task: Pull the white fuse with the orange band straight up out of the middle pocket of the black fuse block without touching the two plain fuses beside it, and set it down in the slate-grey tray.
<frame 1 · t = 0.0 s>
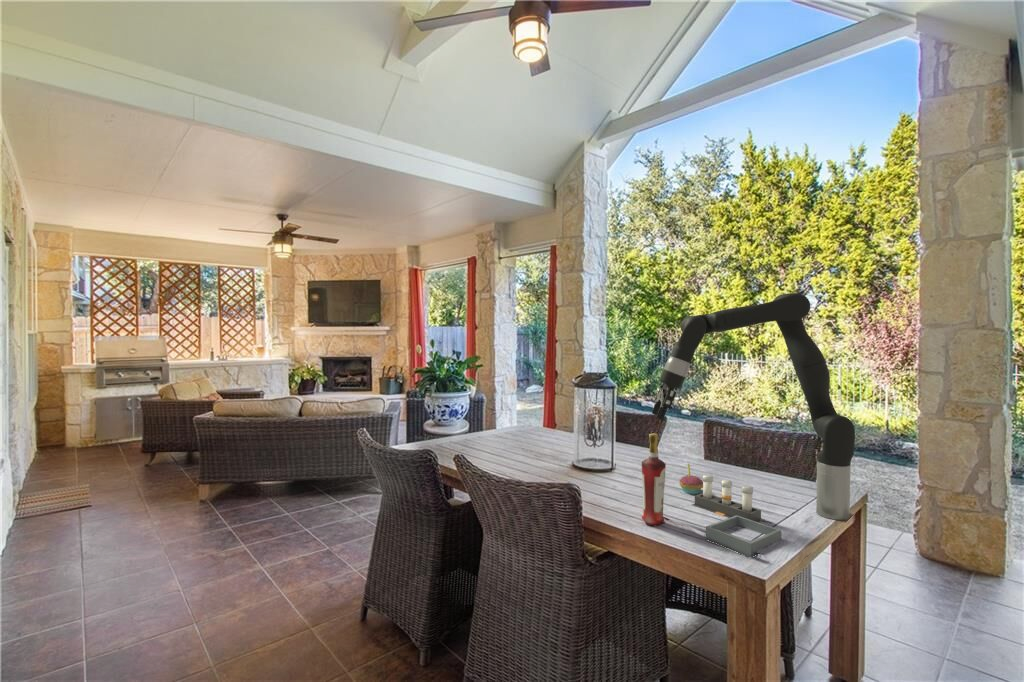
hand: (656, 416, 167), 31 cm above the table, tool tilted 20°, fingers open, 8 cm apart
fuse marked: (726, 511, 161), point 1 cm above the table, touching fuse block
fuse 1: (707, 505, 167), point 1 cm above the table, touching fuse block
tray: (743, 542, 142), on the table
liquor: (653, 523, 156), on the table
fuse block: (726, 516, 161), on the table
cupcake: (691, 495, 181), on the table
fuse 2: (746, 518, 155), point 1 cm above the table, touching fuse block
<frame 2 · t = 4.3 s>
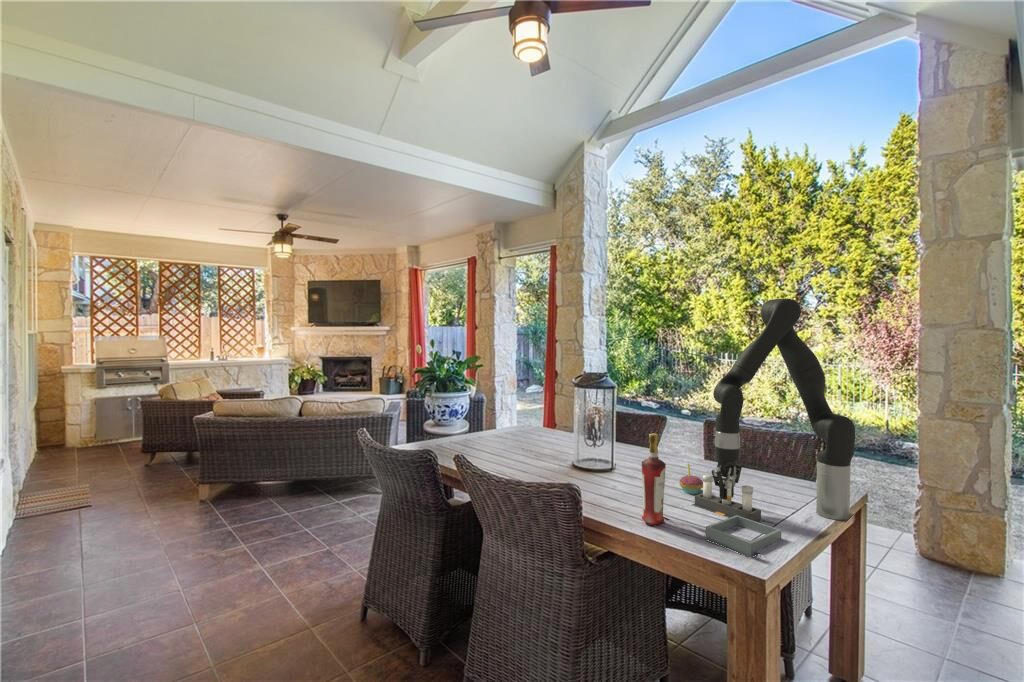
hand: (726, 497, 161), 6 cm above the table, tool pointing down, fingers closed on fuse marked, 3 cm apart
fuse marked: (726, 511, 161), point 2 cm above the table, touching fuse block, gripper
everything else where it was.
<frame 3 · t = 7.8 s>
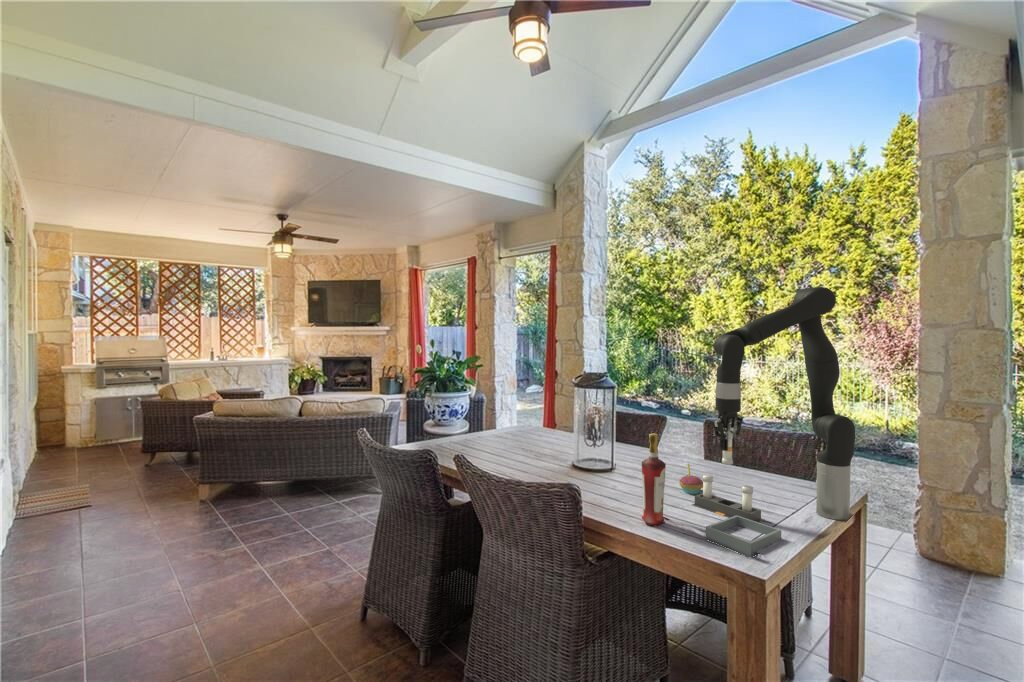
hand: (727, 449, 160), 22 cm above the table, tool pointing down, fingers closed on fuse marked, 3 cm apart
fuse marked: (727, 463, 160), point 17 cm above the table, touching gripper
everything else where it was.
when the fingers open (7 cm above the table, at t = 11.4 s): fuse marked drops 1 cm, resting on tray.
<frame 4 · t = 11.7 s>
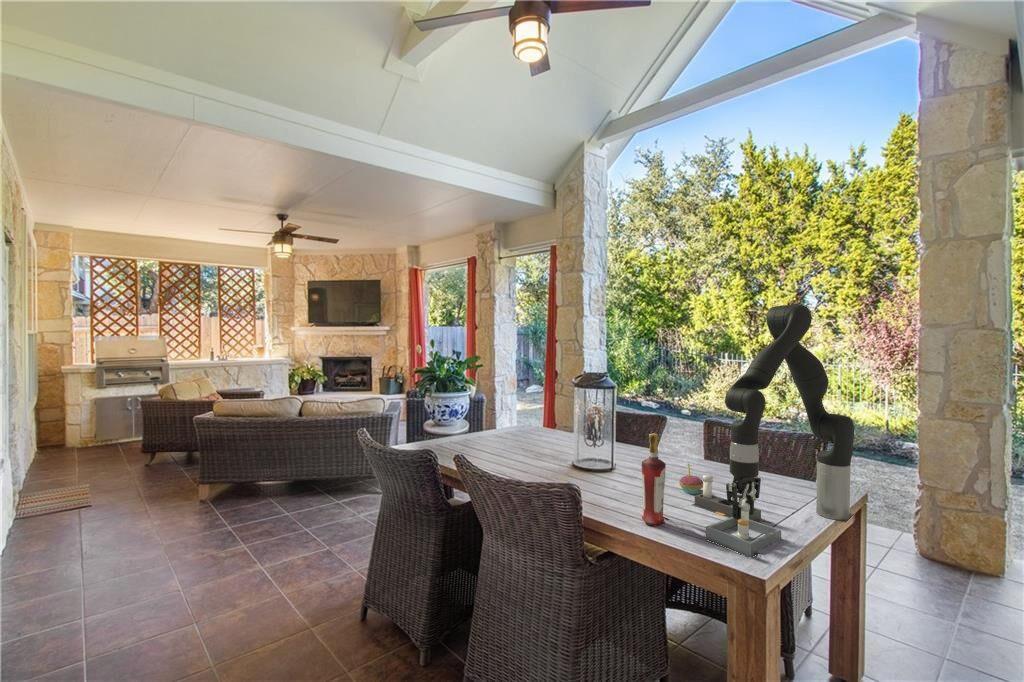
hand: (743, 516, 142), 8 cm above the table, tool pointing down, fingers open, 6 cm apart
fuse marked: (742, 538, 142), point 1 cm above the table, touching tray
everything else where it was.
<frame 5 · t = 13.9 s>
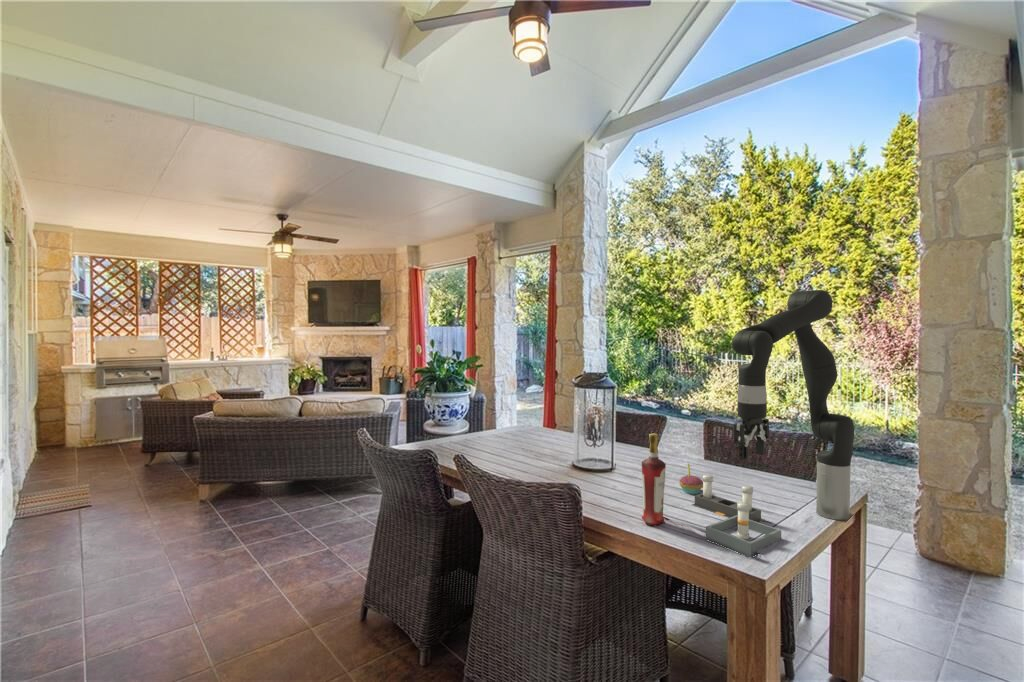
hand: (751, 456, 142), 25 cm above the table, tool pointing down, fingers open, 8 cm apart
nothing on the table moved.
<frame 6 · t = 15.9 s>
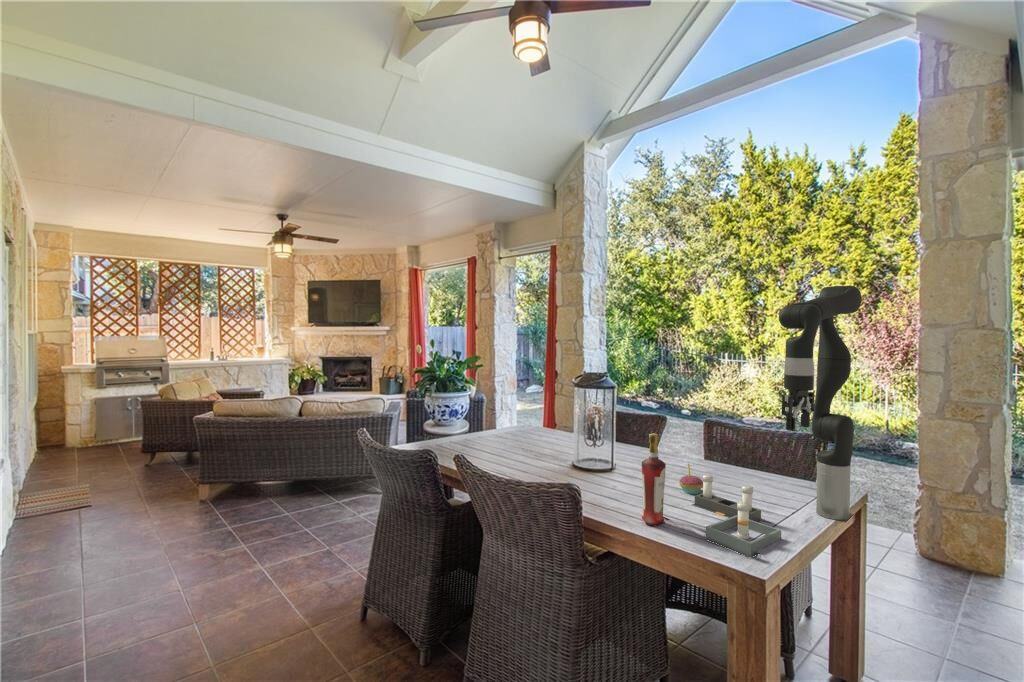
hand: (798, 428, 144), 32 cm above the table, tool pointing down, fingers open, 8 cm apart
nothing on the table moved.
at the end: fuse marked inside the target area on the tray (0.0 cm from its centre), point 1.0 cm above the tray's base; fuse 2 moved 0.0 cm from its start; fuse 1 moved 0.0 cm from its start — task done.
